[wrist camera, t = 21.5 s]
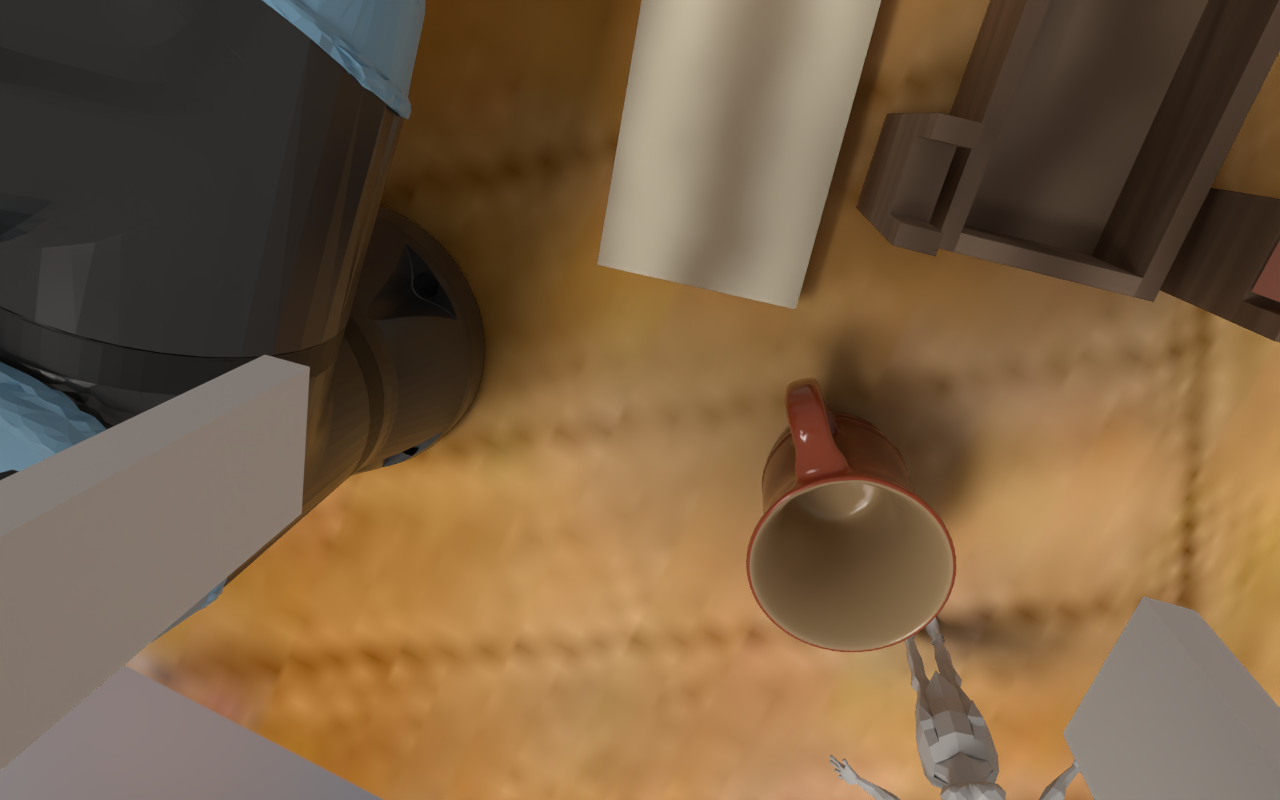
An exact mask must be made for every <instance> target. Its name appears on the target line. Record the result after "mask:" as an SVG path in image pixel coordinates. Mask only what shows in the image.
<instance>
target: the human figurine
mask: <svg viewBox="0 0 1280 800" xmlns="http://www.w3.org/2000/svg"><path fill="white" fill-rule="evenodd" d="M925 629H926V631H927V633H928V634H929V636H930V637H931V638H932V639H933V641H932V645H934V648H935V659H936V662H937V665H938V669H939V672H940V674H939V673H938V672H937V671H935V673H934V675H933V677H932V678H931V680H930V681H929V680H928V678H927V677H926V675H925V671H924V666H923V662H922V658H921V656H920V654H919V652H918V650H917V647H916V645H915V642H914V640H913V639H914V636H915V635H913V636H912V637H910V638H908V639H906V640H905V643H906V646H907V659H908V663H909V666H910V670H911V685H912V687H913V689H914V690H916V691H917V695H918V697H917V703H916V711H915V716H916V740H917V748H918V752H919V756H920V759H921V763H922V767H923V770H924V774H925V776H926V777H927V779H928V780H929V781H930V783H931V784H932V785H934V786H936V787H939V788H941V789H942V791H941V794H940V796H941V799H942V800H1005V795H1006V792H1005V791H1004V790H1003V789H1002V788H1001V787H1000V786H999V785H998V784H995V781H996V778H997V775H998V772H999V766H998V755H997V752H996V749H995V746H994V743H993V740H992V737H991V734H990V732H989V729H988V727H987V725H986V723H985V720H984V718H983V716H982V715H981V713H980V712H979V710H978V709H977V707H976V706H975V704H974V702H973V701H971V700H970V699H969V698H968V697H967V695H966V694H965V693H964V692H963V690H962V689H961V688H960V686H961V682H962V680H961V678H960V677H959V675H958V673H957V672H956V670H955V669H954V667H953V665H952V661H951V657H950V654H949V652H948V650H947V649H946V647H945V645H944V643H943V642H944V637H943V635H942V634H940V631H939V625H938V621H937V619H936V617H935V618H934V619H933V620H932V621H931V622H930V623H929V624H928V625H927V626H926V627H925ZM941 636H942V637H943V640H942V637H941ZM933 643H934V644H933ZM830 759H831V760H830V762H829V763H831V764H832V765H833V766H835V767H836V768H838V769H839V770H838V769H835V770H834V771H835V772H837V773H839V774H840V775H839V776H838V778H840V779H843V780H845V781H846V782H847V783H848V784H850V785H851V784H857V785H859V786H860V787H861V788H862V789H864V790H865V791H866V792H868V793H869V794H870V795H872V796H873V797H874V798H875V799H876V800H900V799H899V798H898V797H896V796H895V795H894V794H892V793H890V792H888V791H886V790H885V789H883V788H881V787H879V786H877V785H875V784H873V783H871V782H869V781H866V780H864V779H862V778H860V777H859V776H858V775H857V774H856V773H855V772H854V770H853V769H852V768H851V767H850V766H849V765H848V763H847V761H846V759H843V760H842V761H843V763H844V764H845V765H843V764H842V763H840V762H838V761H837V760H836V759H835V758H834V757H833V756H832V755H830ZM833 761H834V762H833ZM1077 773H1081V771H1080V769H1079V767H1078V765H1077V762H1076V760H1074V762H1073V764H1072V766H1071V767H1070V768H1068V769H1067V770H1066V771H1065V772H1063V773H1062V774H1061V775H1060V776H1058V777H1057V778H1056V779H1055V780H1054V781H1053V782H1052V783H1051V784H1049V785H1048V786H1047V787H1046V788H1045V790H1044V792H1043V793H1042V795H1041V797H1040V799H1039V800H1063V799H1064V797H1065V792H1066V788H1067V787H1068V785H1069V784H1070V782H1071V781H1072V780H1073V778H1074V777H1075V776H1076V774H1077Z"/></svg>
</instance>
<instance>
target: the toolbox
mask: <svg viewBox="0 0 1280 800" xmlns="http://www.w3.org/2000/svg"><path fill="white" fill-rule="evenodd" d="M1279 50H1280V0H991V1H990V4H989V7H988V9H987V12H986V15H985V18H984V21H983V23H982V26H981V29H980V32H979V35H978V37H977V40H976V43H975V46H974V49H973V51H972V54H971V57H970V60H969V62H968V65H967V68H966V71H965V74H964V76H963V79H962V82H961V85H960V88H959V90H958V93H957V96H956V99H955V102H954V104H953V107H952V110H951V113H950V115H946V114H942V113H903V114H887V115H886V118H885V121H884V124H883V127H882V130H881V133H880V136H879V140H878V143H877V146H876V149H875V152H874V155H873V158H872V161H871V164H870V167H869V170H868V173H867V176H866V179H865V182H864V185H863V188H862V191H861V195H860V198H859V201H858V204H857V207H856V208H857V209H858V210H859V211H860V212H861V213H862V214H863V215H864V216H865V217H866V218H867V219H868V220H869V221H870V222H871V224H872V225H873V226H874V227H875V228H876V229H877V230H878V231H879V232H880V233H881V234H882V235H883V236H884V237H885V238H886V239H887V240H888V241H889V242H890V243H891V244H892V245H893V246H897V247H901V248H905V249H909V250H913V251H917V252H921V253H925V254H929V255H933V256H936V253H937V251H938V248H939V249H943V250H947V251H951V252H955V253H959V254H963V255H967V256H971V257H975V258H979V259H984V260H988V261H992V262H996V263H1000V264H1004V265H1008V266H1012V267H1016V268H1020V269H1024V270H1028V271H1032V272H1036V273H1040V274H1044V275H1048V276H1052V277H1056V278H1060V279H1064V280H1068V281H1072V282H1076V283H1080V284H1084V285H1088V286H1092V287H1096V288H1100V289H1104V290H1108V291H1112V292H1116V293H1120V294H1124V295H1128V296H1132V297H1136V298H1140V299H1144V300H1148V301H1152V302H1154V300H1155V298H1156V296H1157V294H1158V292H1159V290H1161V291H1163V292H1165V293H1168V294H1170V295H1172V296H1174V297H1177V298H1179V299H1181V300H1183V301H1186V302H1188V303H1190V304H1192V305H1195V306H1197V307H1199V308H1201V309H1204V310H1206V311H1208V312H1210V313H1213V314H1215V315H1217V316H1219V317H1222V318H1224V319H1226V320H1228V321H1231V322H1233V323H1235V324H1237V325H1240V326H1242V327H1244V328H1246V329H1248V330H1251V331H1253V332H1255V333H1257V334H1260V335H1262V336H1264V337H1266V338H1269V339H1271V340H1273V341H1276V342H1280V302H1278V301H1275V300H1273V299H1270V298H1267V297H1264V296H1262V295H1259V294H1256V293H1253V292H1251V291H1252V290H1253V288H1254V286H1255V284H1256V282H1257V280H1258V279H1259V277H1260V275H1261V273H1262V271H1263V270H1264V268H1265V266H1266V264H1267V262H1268V260H1269V259H1270V257H1271V255H1272V253H1273V251H1274V250H1275V248H1276V246H1277V244H1278V242H1279V240H1280V199H1276V198H1270V197H1264V196H1258V195H1252V194H1246V193H1239V192H1233V191H1227V190H1221V189H1215V188H1211V186H1212V184H1213V182H1214V180H1215V178H1216V176H1217V174H1218V172H1219V170H1220V168H1221V166H1222V164H1223V162H1224V160H1225V158H1226V156H1227V154H1228V152H1229V150H1230V148H1231V146H1232V144H1233V142H1234V140H1235V138H1236V136H1237V134H1238V132H1239V130H1240V128H1241V126H1242V124H1243V122H1244V120H1245V118H1246V116H1247V114H1248V112H1249V110H1250V108H1251V106H1252V104H1253V102H1254V100H1255V98H1256V96H1257V94H1258V92H1259V90H1260V88H1261V86H1262V84H1263V82H1264V80H1265V78H1266V76H1267V74H1268V72H1269V70H1270V68H1271V66H1272V64H1273V62H1274V60H1275V58H1276V56H1277V54H1278V52H1279Z"/></svg>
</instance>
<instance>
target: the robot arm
mask: <svg viewBox="0 0 1280 800" xmlns="http://www.w3.org/2000/svg"><path fill="white" fill-rule="evenodd" d="M425 9H426V0H0V770H2V769H3V768H4V767H5V766H6V765H8V764H9V763H10V762H11V761H12V760H13V759H15V758H16V757H17V756H18V755H19V754H20V753H22V752H23V751H24V750H25V749H26V748H27V747H29V746H30V745H31V744H32V743H33V742H34V741H36V740H37V739H38V738H39V737H40V736H41V735H43V734H44V733H45V732H46V731H47V730H49V729H50V728H51V727H52V726H53V725H54V724H55V723H57V722H58V721H59V720H60V719H61V718H63V717H64V716H65V715H66V714H67V713H68V712H70V711H71V710H72V709H73V708H74V707H76V706H77V705H78V704H79V703H80V702H81V701H82V700H84V699H85V698H86V697H87V696H88V695H89V694H91V693H92V692H93V691H94V690H95V689H97V688H98V687H99V686H100V685H101V684H102V683H104V682H105V681H106V680H107V679H108V678H109V677H110V676H112V675H113V674H114V673H115V672H116V671H118V670H119V669H120V668H121V667H122V666H124V665H125V664H126V663H127V662H128V661H129V660H131V659H132V658H133V657H134V656H135V655H136V654H138V653H139V652H140V651H141V650H142V649H143V648H145V647H146V646H147V645H148V644H149V643H151V642H153V641H154V640H156V639H157V638H159V637H160V636H161V635H163V634H164V633H166V632H167V631H169V630H170V629H172V628H173V627H175V626H176V625H178V624H179V623H181V622H182V621H183V620H185V619H186V618H188V617H189V616H191V615H192V614H194V613H195V612H197V611H198V610H200V609H203V608H205V607H206V606H207V605H209V604H210V603H212V602H213V601H214V600H216V599H217V598H218V596H219V595H220V594H222V591H223V588H224V587H225V586H226V585H227V584H228V583H229V582H231V581H232V580H233V579H234V578H235V577H236V576H237V575H238V574H240V573H241V572H242V571H243V570H244V569H245V568H246V567H248V566H249V565H250V564H251V563H252V562H253V561H254V560H256V559H257V558H258V557H259V556H260V555H261V554H262V553H263V552H265V551H266V550H267V549H268V548H269V547H270V546H271V545H273V544H274V543H275V542H276V541H277V540H278V539H279V538H280V537H282V536H283V535H284V534H285V533H286V532H287V531H288V530H290V529H291V528H292V527H293V526H294V525H295V524H296V523H298V522H299V521H300V520H301V519H302V518H303V517H304V516H305V515H307V514H308V513H309V512H310V511H311V510H312V509H313V508H315V507H316V506H317V505H318V504H319V503H320V502H321V501H322V500H324V499H325V498H326V497H327V496H328V495H329V494H330V493H332V492H333V491H334V490H335V489H336V488H337V487H338V486H339V485H341V484H342V483H343V482H344V481H345V480H346V479H347V478H349V477H350V476H351V475H355V474H359V473H363V472H367V471H371V470H375V469H378V468H381V467H386V466H390V465H394V464H397V463H401V462H403V461H406V460H409V459H411V458H413V457H415V456H417V455H419V454H421V453H422V452H424V451H426V450H427V449H429V448H430V447H432V446H433V445H434V444H436V443H437V442H438V441H439V440H440V439H441V438H442V437H443V436H444V435H445V434H446V433H447V432H448V431H449V430H450V429H451V428H452V427H453V426H454V425H455V424H456V423H457V422H458V421H459V420H460V419H461V418H462V417H463V415H464V414H465V413H466V411H467V410H468V408H469V406H470V405H471V403H472V401H473V399H474V397H475V395H476V393H477V390H478V387H479V384H480V381H481V377H482V372H483V366H484V355H485V344H484V332H483V326H482V320H481V316H480V313H479V309H478V306H477V303H476V300H475V298H474V295H473V293H472V291H471V288H470V286H469V284H468V282H467V280H466V279H465V277H464V275H463V274H462V272H461V270H460V269H459V267H458V266H457V264H456V263H455V262H454V260H453V259H452V258H451V257H450V255H449V254H448V253H447V252H446V251H445V249H444V248H443V247H442V246H441V245H440V244H439V243H438V242H437V241H436V240H435V239H434V238H433V237H432V236H430V235H429V234H428V233H427V232H426V231H424V230H423V229H422V228H420V227H419V226H418V225H416V224H415V223H413V222H412V221H410V220H409V219H407V218H405V217H404V216H402V215H400V214H398V213H396V212H394V211H392V210H390V209H387V208H384V207H382V206H380V202H381V199H382V195H383V192H384V188H385V184H386V181H387V177H388V174H389V170H390V166H391V163H392V159H393V156H394V152H395V149H396V145H397V141H398V138H399V134H400V131H401V127H402V124H403V120H404V118H405V119H408V120H409V117H410V114H411V103H410V101H409V99H408V95H409V90H410V84H411V79H412V73H413V68H414V64H415V59H416V55H417V50H418V45H419V41H420V36H421V32H422V27H423V22H424V17H425ZM1063 735H1064V737H1065V739H1066V741H1067V744H1068V746H1069V748H1070V750H1071V752H1072V754H1073V756H1074V758H1075V760H1076V762H1077V765H1078V767H1079V769H1080V771H1081V773H1082V775H1083V777H1084V779H1085V781H1086V783H1087V785H1088V788H1089V790H1090V792H1091V794H1092V796H1093V798H1094V800H1280V708H1279V706H1278V705H1277V704H1276V703H1275V702H1274V701H1273V699H1272V698H1271V697H1270V696H1269V695H1268V694H1267V693H1266V691H1265V690H1264V689H1263V688H1262V687H1261V686H1260V684H1259V683H1258V682H1257V681H1256V680H1255V679H1254V677H1253V676H1252V675H1251V674H1250V673H1249V672H1248V671H1247V669H1246V668H1245V667H1244V666H1243V665H1242V664H1241V662H1240V661H1239V660H1238V659H1237V658H1236V657H1235V656H1234V654H1233V653H1232V652H1231V651H1230V650H1229V649H1228V647H1227V646H1226V645H1225V644H1224V643H1223V642H1222V640H1221V639H1220V638H1219V637H1218V636H1217V635H1216V634H1215V632H1214V631H1213V630H1212V629H1211V628H1210V627H1209V625H1208V624H1207V623H1206V622H1205V621H1204V620H1203V618H1202V617H1201V616H1200V615H1199V614H1198V613H1197V612H1196V611H1194V610H1191V609H1187V608H1184V607H1180V606H1176V605H1173V604H1169V603H1165V602H1162V601H1158V600H1154V599H1151V598H1147V597H1144V596H1143V598H1142V599H1141V601H1140V603H1139V605H1138V606H1137V608H1136V610H1135V611H1134V613H1133V615H1132V617H1131V618H1130V620H1129V622H1128V623H1127V625H1126V627H1125V628H1124V630H1123V632H1122V634H1121V635H1120V637H1119V639H1118V640H1117V642H1116V644H1115V645H1114V647H1113V649H1112V651H1111V652H1110V654H1109V656H1108V657H1107V659H1106V661H1105V662H1104V664H1103V666H1102V668H1101V669H1100V671H1099V673H1098V674H1097V676H1096V678H1095V679H1094V681H1093V683H1092V685H1091V686H1090V688H1089V690H1088V691H1087V693H1086V695H1085V697H1084V698H1083V700H1082V702H1081V703H1080V705H1079V707H1078V708H1077V710H1076V712H1075V714H1074V715H1073V717H1072V719H1071V720H1070V722H1069V724H1068V725H1067V727H1066V729H1065V731H1064V732H1063Z"/></svg>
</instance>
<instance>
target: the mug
mask: <svg viewBox="0 0 1280 800" xmlns="http://www.w3.org/2000/svg"><path fill="white" fill-rule="evenodd" d="M785 407H786V413H787V418H788V422H789V426H790V427H789V428H788V429H787V430H786V431H785V432H784V433H783V434H782V435H781V436H780V437H779V439H778V440H777V442H776V443H775V445H774V447H773V448H772V450H771V452H770V454H769V456H768V459H767V462H766V465H765V468H764V471H763V476H762V493H763V514H764V515H763V516H762V517H761V519H760V520H759V522H758V524H757V525H756V527H755V529H754V531H753V534H752V536H751V539H750V542H749V546H748V551H747V560H746V567H747V576H748V581H749V584H750V588H751V590H752V593H753V595H754V597H755V599H756V601H757V603H758V605H759V606H760V608H761V609H762V611H763V612H764V613H765V614H766V615H767V617H768V618H769V619H770V620H771V621H772V622H773V623H774V624H776V625H777V626H778V627H779V628H780V629H782V630H783V631H784V632H786V633H787V634H789V635H791V636H792V637H794V638H796V639H798V640H800V641H802V642H804V643H807V644H810V645H812V646H815V647H819V648H822V649H827V650H832V651H840V652H864V651H872V650H877V649H882V648H885V647H889V646H892V645H894V644H897V643H900V642H902V641H904V640H906V639H908V638H910V637H912V636H913V635H915V634H917V633H918V632H919V631H921V630H922V629H923V628H925V627H926V626H927V625H928V624H929V623H930V622H931V621H932V620H933V619H934V618H935V617H936V616H937V615H938V614H939V612H940V611H941V610H942V608H943V607H944V605H945V603H946V602H947V600H948V598H949V596H950V593H951V591H952V588H953V585H954V580H955V575H956V556H955V550H954V546H953V542H952V539H951V537H950V534H949V532H948V530H947V528H946V526H945V525H944V523H943V521H942V520H941V519H940V517H939V516H938V515H937V513H936V512H935V511H934V510H933V509H932V508H931V507H930V506H929V505H928V504H927V503H926V502H925V501H923V500H922V499H921V498H920V497H918V496H917V495H915V494H914V491H913V487H912V484H911V481H910V478H909V476H908V471H907V468H906V465H905V462H904V460H903V458H902V456H901V454H900V452H899V451H898V450H897V448H896V447H895V446H894V445H893V444H892V442H891V441H890V440H888V439H887V438H886V436H885V435H884V434H883V433H882V432H881V431H880V430H879V429H877V428H876V427H875V426H874V425H873V424H871V423H870V422H867V421H865V420H863V419H861V418H859V417H856V416H853V415H850V414H846V413H840V412H832V413H831V411H830V409H829V408H828V406H827V405H826V403H825V401H824V398H823V396H822V392H821V389H820V385H819V383H818V381H817V380H816V379H814V378H804V379H800V380H797V381H794V382H792V383H790V384H789V385H788V386H787V387H786V390H785Z"/></svg>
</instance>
